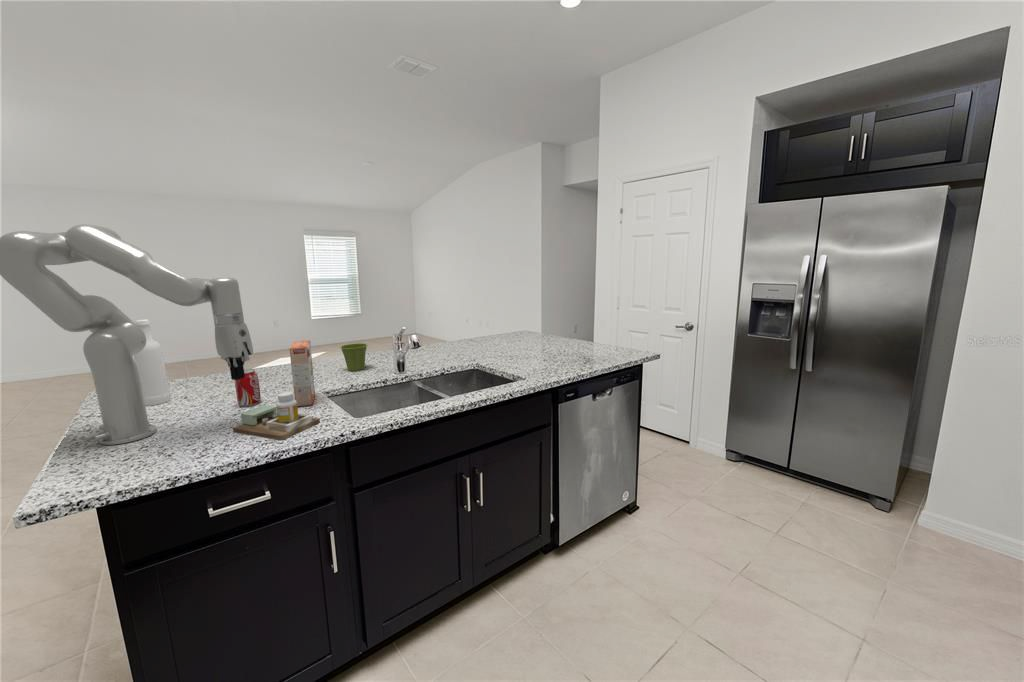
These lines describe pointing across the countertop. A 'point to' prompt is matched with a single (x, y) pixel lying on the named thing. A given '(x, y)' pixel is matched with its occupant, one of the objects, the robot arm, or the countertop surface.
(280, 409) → the supplement bottle
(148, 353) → the bottle
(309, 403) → the cracker box
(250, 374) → the soda can
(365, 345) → the plant pot
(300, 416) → the board
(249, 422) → the block
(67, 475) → the countertop surface
